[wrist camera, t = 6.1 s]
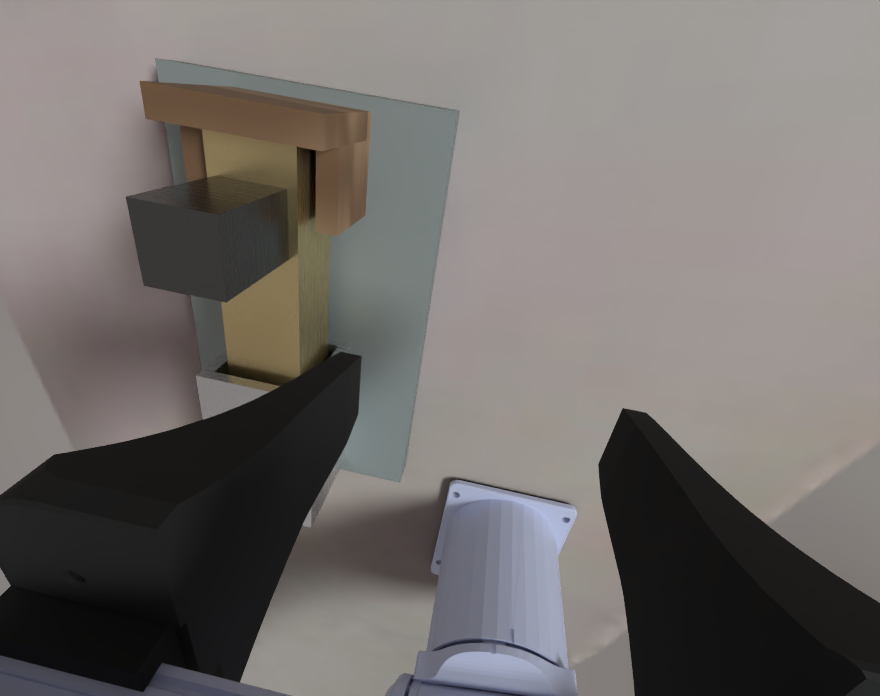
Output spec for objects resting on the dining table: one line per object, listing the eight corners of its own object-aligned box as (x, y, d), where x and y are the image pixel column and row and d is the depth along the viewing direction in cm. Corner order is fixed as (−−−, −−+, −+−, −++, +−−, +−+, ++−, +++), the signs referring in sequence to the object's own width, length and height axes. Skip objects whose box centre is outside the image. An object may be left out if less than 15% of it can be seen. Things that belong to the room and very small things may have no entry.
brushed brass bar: (326, 389, 23) (255, 496, 16) (267, 376, 23) (175, 478, 17) (332, 135, 17) (224, 154, 10) (252, 121, 17) (99, 131, 11)
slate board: (405, 464, 28) (400, 482, 26) (225, 424, 28) (212, 439, 27) (459, 111, 18) (455, 111, 16) (180, 61, 18) (154, 58, 17)
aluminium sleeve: (345, 457, 26) (311, 527, 22) (265, 439, 26) (216, 505, 22) (351, 343, 22) (311, 401, 18) (257, 323, 22) (195, 375, 18)
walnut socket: (365, 215, 19) (320, 248, 15) (241, 191, 19) (162, 217, 15) (371, 111, 17) (322, 113, 13) (233, 86, 17) (139, 81, 13)
